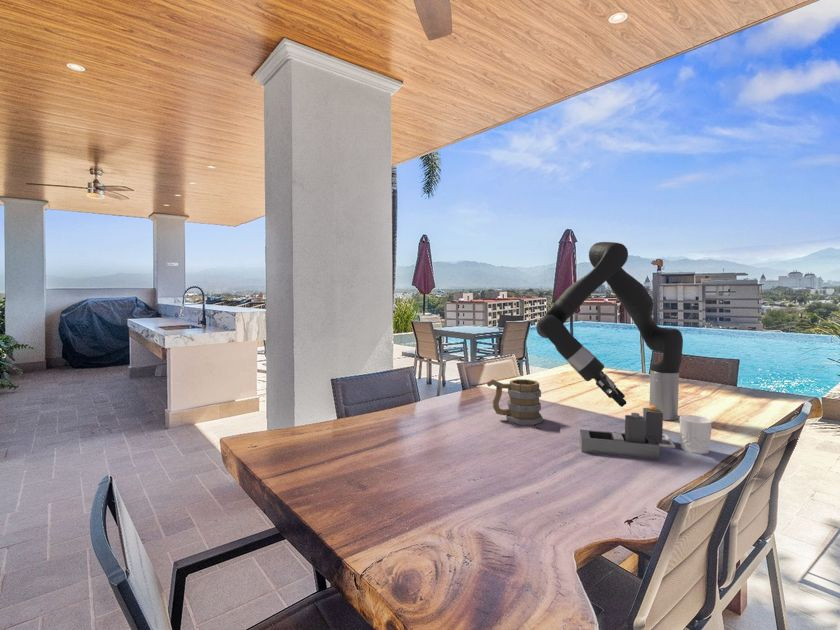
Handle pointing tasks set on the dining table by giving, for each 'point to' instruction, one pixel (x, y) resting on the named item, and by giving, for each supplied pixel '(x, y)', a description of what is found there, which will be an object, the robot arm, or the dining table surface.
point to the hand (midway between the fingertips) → (623, 401)
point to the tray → (668, 441)
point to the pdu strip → (618, 445)
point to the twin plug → (635, 428)
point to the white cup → (695, 433)
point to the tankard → (519, 401)
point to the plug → (653, 422)
